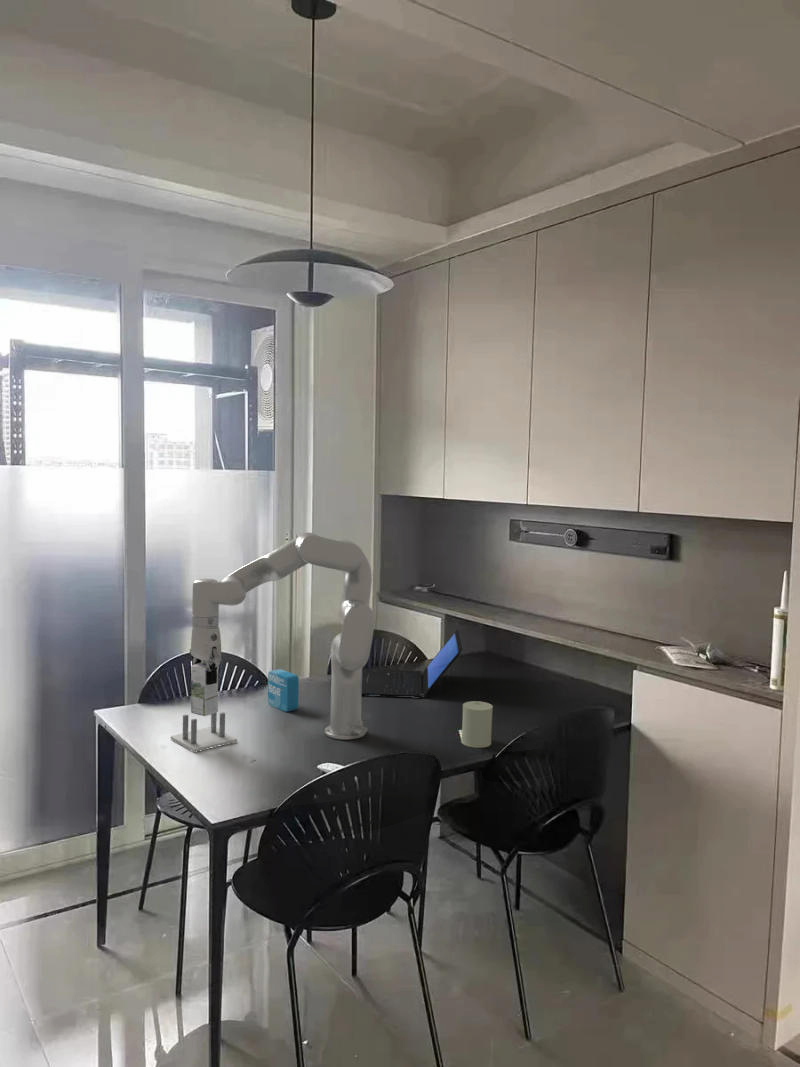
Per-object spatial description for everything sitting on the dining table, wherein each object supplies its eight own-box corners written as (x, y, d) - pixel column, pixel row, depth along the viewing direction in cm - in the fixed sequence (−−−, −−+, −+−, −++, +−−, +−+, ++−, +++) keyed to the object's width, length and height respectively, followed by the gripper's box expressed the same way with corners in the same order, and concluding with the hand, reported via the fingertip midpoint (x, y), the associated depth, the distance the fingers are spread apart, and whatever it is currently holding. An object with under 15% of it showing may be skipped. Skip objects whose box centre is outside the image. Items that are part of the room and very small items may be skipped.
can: (487, 737, 245) (488, 699, 244) (494, 747, 236) (496, 708, 235) (458, 737, 244) (459, 699, 243) (464, 748, 235) (466, 708, 234)
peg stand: (237, 742, 233) (237, 715, 233) (194, 752, 224) (194, 725, 223) (212, 729, 243) (212, 704, 243) (170, 739, 234) (170, 713, 233)
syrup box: (218, 711, 234) (219, 664, 232) (204, 717, 229) (204, 668, 227) (204, 708, 237) (205, 661, 235) (190, 713, 232) (190, 665, 230)
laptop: (363, 673, 316) (364, 625, 315) (456, 677, 315) (458, 629, 314) (355, 697, 283) (357, 644, 282) (460, 701, 282) (462, 648, 280)
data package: (267, 704, 270) (267, 670, 269) (278, 702, 274) (278, 668, 273) (287, 713, 262) (288, 677, 261) (298, 710, 265) (299, 675, 264)
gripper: (232, 624, 227) (231, 685, 228) (201, 615, 239) (201, 672, 241) (209, 627, 221) (208, 690, 223) (179, 618, 234) (178, 676, 235)
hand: (204, 680), depth 232 cm, fingers closed on syrup box, 6 cm apart
